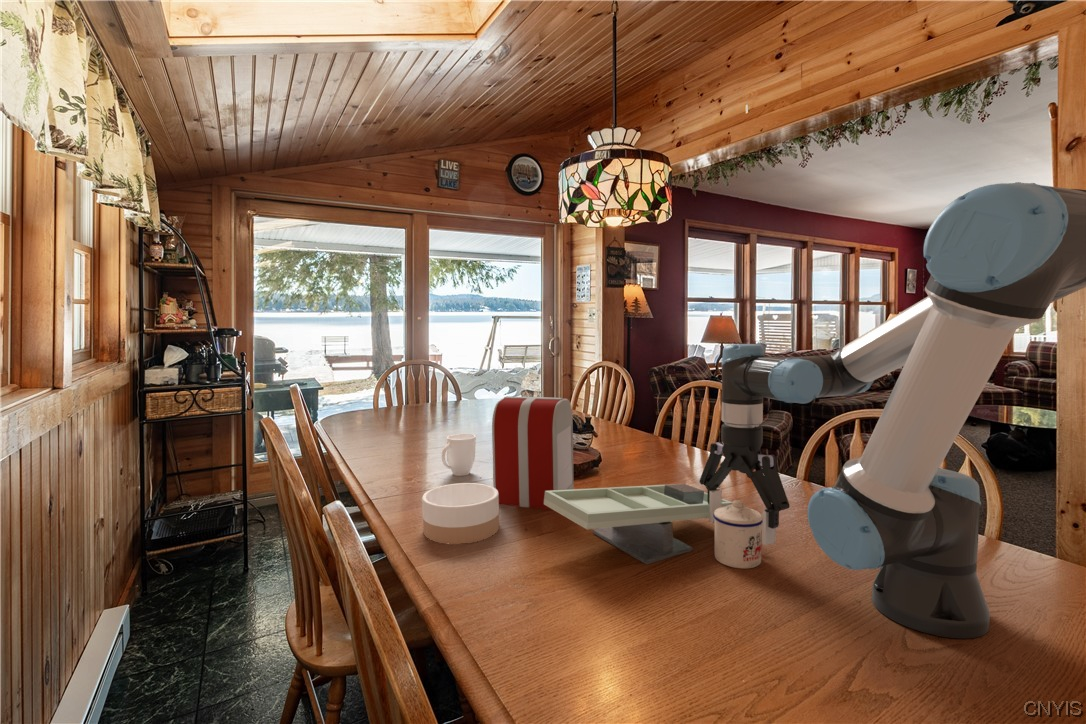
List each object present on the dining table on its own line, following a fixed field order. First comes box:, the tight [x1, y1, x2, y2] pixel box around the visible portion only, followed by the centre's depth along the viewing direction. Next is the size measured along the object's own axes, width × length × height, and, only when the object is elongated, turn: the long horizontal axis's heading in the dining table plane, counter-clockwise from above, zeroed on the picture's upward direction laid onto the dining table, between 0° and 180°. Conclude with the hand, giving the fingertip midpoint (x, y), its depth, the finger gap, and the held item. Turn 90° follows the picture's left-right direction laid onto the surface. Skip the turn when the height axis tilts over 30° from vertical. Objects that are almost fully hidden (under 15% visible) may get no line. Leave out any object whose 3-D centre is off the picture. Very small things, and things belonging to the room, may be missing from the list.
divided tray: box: [544, 483, 733, 530], centre depth 114 cm, size 16×38×3 cm, turn 119°
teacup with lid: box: [713, 499, 763, 569], centre depth 106 cm, size 12×9×12 cm
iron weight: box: [664, 483, 705, 505], centre depth 120 cm, size 6×6×3 cm
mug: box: [441, 433, 477, 477], centre depth 167 cm, size 12×9×12 cm
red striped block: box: [491, 395, 575, 511], centre depth 144 cm, size 17×18×27 cm
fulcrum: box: [592, 521, 693, 566], centre depth 114 cm, size 18×12×7 cm, turn 29°
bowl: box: [421, 482, 500, 545], centre depth 123 cm, size 17×17×8 cm
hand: (740, 531), depth 106 cm, fingers open, 12 cm apart
